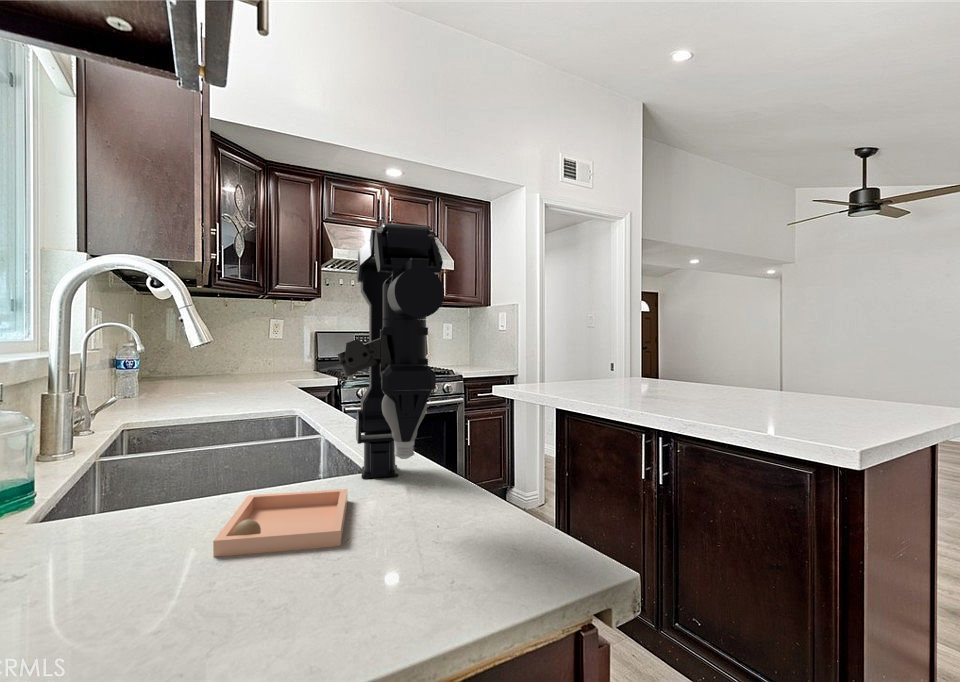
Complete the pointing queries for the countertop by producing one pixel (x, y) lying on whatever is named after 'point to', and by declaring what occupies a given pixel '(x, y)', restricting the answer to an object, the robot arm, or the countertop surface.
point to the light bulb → (389, 412)
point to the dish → (286, 522)
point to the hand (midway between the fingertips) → (404, 436)
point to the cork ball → (247, 528)
